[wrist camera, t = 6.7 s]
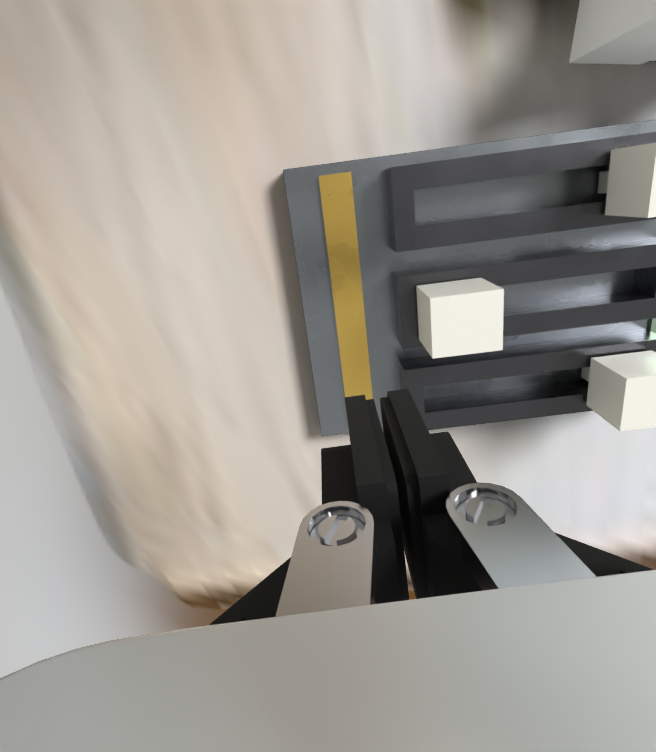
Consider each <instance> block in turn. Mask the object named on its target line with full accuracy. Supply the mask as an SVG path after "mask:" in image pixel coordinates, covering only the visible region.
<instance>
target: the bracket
mask: <svg viewBox="0 0 656 752" xmlns="http://www.w3.org/2000/svg"><path fill="white" fill-rule="evenodd" d="M648 61H656V0H580V2H579V8H578V13H577V19H576V25H575V31H574V37H573V42H572V48H571V54H570V60H569V63H584V64H643V63H646V62H648Z"/></svg>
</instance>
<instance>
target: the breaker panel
mask: <svg viewBox="0 0 656 752" xmlns="http://www.w3.org/2000/svg"><path fill="white" fill-rule="evenodd" d="M650 143H656V120H648V121H641V122H634V123H626V124H619V125H611V126H604V127H597V128H589V129H582V130H574V131H567V132H560V133H552V134H545V135H537V136H530V137H522V138H515V139H508V140H500V141H493V142H485V143H478V144H471V145H463V146H456V147H448V148H441V149H433V150H426V151H419V152H411V153H404V154H396V155H389V156H382V157H374V158H367V159H359V160H352V161H345V162H337V163H330V164H322V165H315V166H307V167H300V168H293V169H285V170H283V174H284V180H285V187H286V194H287V201H288V208H289V215H290V222H291V228H292V235H293V242H294V249H295V256H296V263H297V269H298V276H299V283H300V290H301V297H302V304H303V310H304V317H305V324H306V331H307V338H308V345H309V352H310V358H311V365H312V372H313V379H314V386H315V393H316V399H317V406H318V413H319V420H320V427H321V434H322V436H330V435H338V434H347V433H349V427H348V420H347V412H346V405H345V397H351V396H358V395H365V398H366V400H368V399H374V402H375V405H376V409H377V413H378V416H379V420H380V423H381V427H382V429H383V425H382V416H381V407H380V398H383V397H387V391H394V390H401V389H408V390H409V392H410V394H411V396H412V398H413V400H414V402H415V404H416V406H417V408H418V410H419V413H420V415H421V417H422V419H423V421H424V423H425V425H426V427H427V429H428V430H433V429H441V428H450V427H458V426H467V425H475V424H483V423H492V422H500V421H509V420H517V419H526V418H534V417H542V416H551V415H559V414H568V413H576V412H585V411H593V410H592V409H591V408H589V407H588V406H587V405H586V404H587V394H588V383H589V382H588V381H586V380H585V379H583V378H582V377H581V372H582V368H584V367H590V363H591V358H594V357H602V356H610V355H618V354H626V353H635V352H643V351H651V350H652V351H654V352H656V217H651V218H641V217H625V216H609V215H605V208H606V197H607V193H598V183H599V172H602V171H609V166H610V156H611V150H613V149H619V148H625V147H631V146H638V145H644V144H650ZM473 278H483V279H485V280H487V281H489V282H491V283H493V284H495V285H497V286H499V287H501V288H503V289H504V313H503V350H499V351H491V352H483V353H475V354H467V355H458V356H450V357H442V358H434V359H432V357H431V356H430V354H429V353H428V351H427V350H426V349H425V347H424V346H423V344H422V343H421V342H420V340H419V330H418V310H417V291H416V286H418V285H426V284H434V283H442V282H450V281H458V280H465V279H473Z"/></svg>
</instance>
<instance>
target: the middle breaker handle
mask: <svg viewBox="0 0 656 752" xmlns="http://www.w3.org/2000/svg"><path fill="white" fill-rule="evenodd" d="M416 291H417V310H418V330H419V340H420V342H421V343H422V344H423V346H424V347H425V349H426V350H427V351H428V353H429V354H430V356H431V357H432V359H434V358H442V357H450V356H458V355H467V354H475V353H483V352H491V351H499V350H503V313H504V289H503V288H501V287H499V286H497V285H495V284H493V283H491V282H489V281H487V280H485V279H483V278H473V279H465V280H458V281H450V282H442V283H434V284H426V285H418V286H416Z"/></svg>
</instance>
